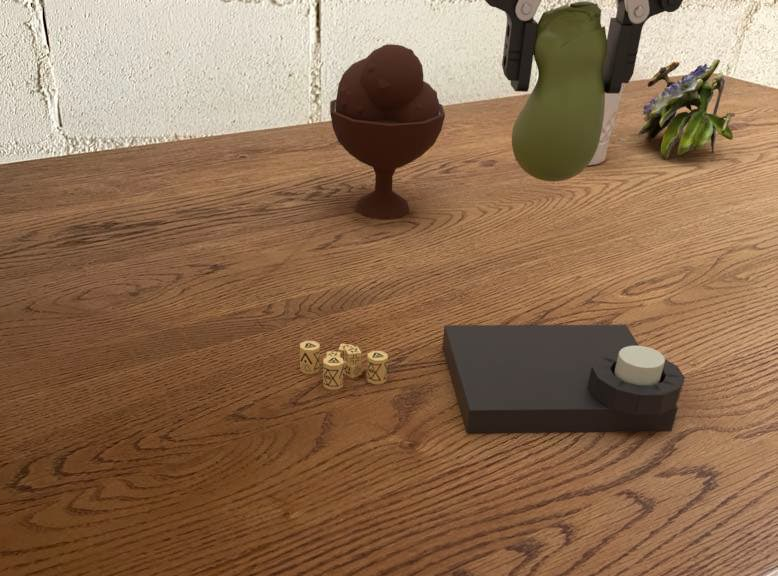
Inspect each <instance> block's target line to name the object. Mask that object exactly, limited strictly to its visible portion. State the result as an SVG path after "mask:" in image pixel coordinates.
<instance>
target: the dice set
mask: <svg viewBox="0 0 778 576" xmlns="http://www.w3.org/2000/svg"><path fill="white" fill-rule="evenodd" d="M366 356H367V357H366V381H367V383H369V384H372V385H383V384H384V383H386V382H387V381H388V365H389V364H388V363H389V356H388V354H387V352H385V351H382V350H372V351H370V352H368V353H367V355H366ZM322 360H323V361H322V384H323V388H325V389H327V390H330V391H331V390H332V391H334V390H335V391H337V390H340V389H342V388H343V387H344V375H345V376H347V377H348V378H350V379H354V378H357V377H360V376H362V375H363V362H362V351H361V349H360V348H359V346H358V345H357V346H355V345H354V344H348V343H340V345H339V347H338V349H337V351H326V357H323V359H322ZM320 368H321V344H320V343H319V342H317V341H315V340H305V341H302V342H300V344H299V371H300V372H301V373H303V374H306V375H314V374H316V373H319V372H320V370H321V369H320Z"/></svg>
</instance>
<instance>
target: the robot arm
mask: <svg viewBox="0 0 778 576" xmlns="http://www.w3.org/2000/svg"><path fill="white" fill-rule="evenodd" d="M484 1H485V2H486V4H487V5H488V6H490V7H493V8H496V9H498V10H500V11H503V12H505V15H506V25H505V34H504V42H503V43H504V44H503V53H502V61H501V67H502V71H503V75H504V77H505V78H506V79H507V80H508V81H510V86H511V88H512V89H513V90H514V92H519V93H520V92H522V93H523V92H527V93H528V91H529V89H530V85H531V84H530V83H531V77H532V76H531V75H532V68H533V60H534V55H533V54H534V47H535V39H536V32H537V24H538V21H536V19H534V18H535V16H536V13H537V11H538V10H539V7H540V5H541V2H542V0H484ZM683 1H684V0H615V7H616V13H615V14H616V15H615V17H610V20H609V25H608V30H607V35H606V38H607V52H606V57H605V61H604V64H603V70H602V75H603V82H604V88H605V92H606V93H609V94H618V93H619V92H620V90H621V86H622V83H624V84H629V83H630V81H631V79H632V77H633V76H634V72H635V67H636V62H637V55H638V52H639V46H640V40H641V36H642V31H643V27H644V26H645V23H646V22H647V21H648V20H649V19H650V18H652V17H654V16H656V15H659V14H662V13H664V12H666V13H674V12H676V11H677V10H678V9H679V8H680V7H681V6H682V4H683Z"/></svg>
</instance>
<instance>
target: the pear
mask: <svg viewBox="0 0 778 576" xmlns="http://www.w3.org/2000/svg"><path fill="white" fill-rule="evenodd" d="M601 20H602V9H601V8H600V7H599V6H598V3H597V2H596V3H594V2H592V1H587V0H586V1H577V2H572V3H570V4H569V5H567V4H564V5H561V6H559V7H556V8H554V9H553V8H552V9H550V10H546V11H543V12H542V14H541V16H540V18H539V20H538V21H537V23H538V24H537V32H536V39H535V47H534V54H533V60H534V61H535V63H536V64H535V65H536V67H537V73H538V74H537V75H538V76H537V80H536V83H535V85H534V87H533V89H532V91H531V93H530V94H529V96H528V98H527V100H526V101H525V103H524V105H523V107H522V109H521V110H520V112H519V113H518V116H517V117H516V118H515V121H514V124H513V127H512V133H511V147H512V153H513V155H514V158H515V160H516V163H517V164H518V165H519V167H520V168H521V169H522V170H523V172H525V173H526V174H527V175H529V176H530V177H532V178H535V179H536V180H537V179H538V180H540V181H543V182H549V183H550V182H553V183H554V182H562V181H567V180H570V179H572V178H574V177H576V176H578V175H579V174H581V173H582V172H583V171H584V170H585V169H586V168H587V167H589V166H588V164H589V163H590V162H591V160H592V158H593V156H594V154H595V152H596V150H597V147H598V144H599V140H600V136H601V131H602V125H603V118H604V109H605V88H604V82H603V75H602V70H603V64H604V61H605V57H606V52H607V32H606V25H604V26H602V23H601Z"/></svg>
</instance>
